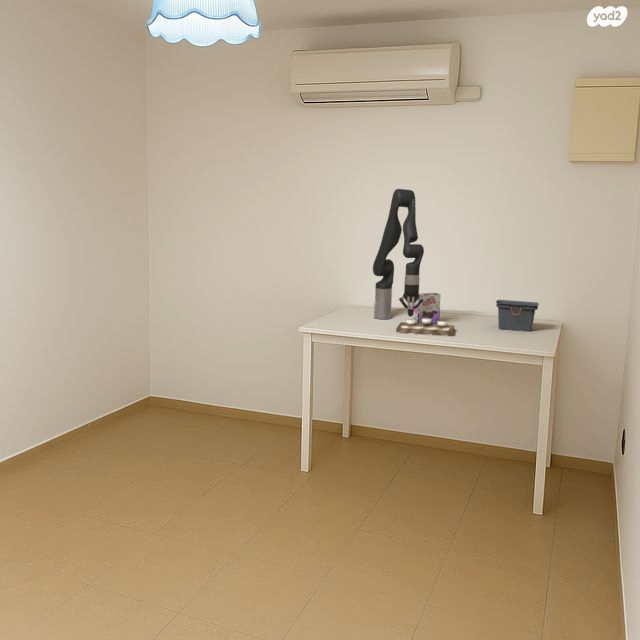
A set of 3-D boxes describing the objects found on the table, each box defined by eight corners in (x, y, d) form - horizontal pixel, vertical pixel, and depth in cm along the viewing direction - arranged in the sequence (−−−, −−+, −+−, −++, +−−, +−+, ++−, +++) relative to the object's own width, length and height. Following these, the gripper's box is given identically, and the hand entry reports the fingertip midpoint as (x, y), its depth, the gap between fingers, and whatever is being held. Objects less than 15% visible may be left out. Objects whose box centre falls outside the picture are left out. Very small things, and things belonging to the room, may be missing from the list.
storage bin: (536, 328, 356) (538, 301, 353) (536, 333, 341) (538, 306, 339) (495, 325, 362) (497, 299, 360) (493, 330, 348) (495, 303, 345)
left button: (405, 324, 347) (405, 320, 347) (406, 322, 352) (406, 319, 351) (414, 325, 346) (415, 321, 346) (416, 323, 351) (416, 319, 350)
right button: (436, 326, 343) (437, 322, 343) (437, 324, 348) (437, 320, 348) (446, 326, 342) (446, 322, 342) (447, 325, 347) (447, 321, 346)
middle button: (421, 323, 345) (421, 319, 345) (422, 321, 350) (422, 318, 349) (430, 323, 344) (430, 320, 344) (431, 322, 348) (431, 318, 348)
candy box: (417, 325, 362) (418, 294, 359) (412, 323, 367) (413, 293, 364) (439, 323, 367) (440, 293, 364) (434, 321, 372) (435, 292, 369)
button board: (396, 332, 340) (396, 327, 340) (400, 326, 356) (400, 321, 355) (452, 336, 334) (452, 330, 333) (454, 330, 349) (454, 324, 348)
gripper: (425, 282, 347) (424, 315, 350) (400, 281, 350) (398, 314, 353) (424, 284, 340) (422, 318, 343) (398, 283, 343) (396, 316, 346)
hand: (410, 316), depth 348 cm, fingers closed
